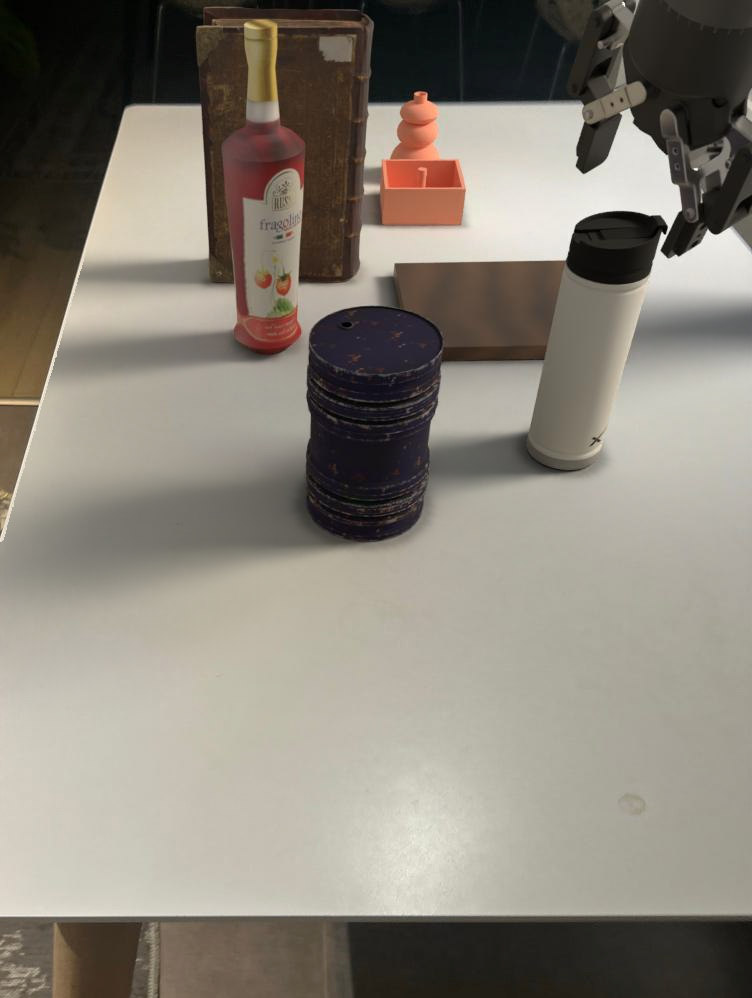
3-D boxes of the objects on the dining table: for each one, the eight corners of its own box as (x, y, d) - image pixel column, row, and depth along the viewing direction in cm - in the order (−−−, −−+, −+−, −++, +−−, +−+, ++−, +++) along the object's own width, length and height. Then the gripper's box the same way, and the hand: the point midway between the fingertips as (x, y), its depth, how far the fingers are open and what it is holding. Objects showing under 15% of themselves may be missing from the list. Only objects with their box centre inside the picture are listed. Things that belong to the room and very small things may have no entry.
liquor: (257, 369, 93) (246, 43, 73) (218, 338, 97) (198, 21, 77) (318, 347, 96) (324, 26, 75) (277, 317, 100) (273, 6, 80)
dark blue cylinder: (449, 503, 79) (474, 338, 68) (369, 560, 74) (383, 392, 63) (359, 453, 84) (369, 291, 73) (280, 503, 79) (278, 339, 68)
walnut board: (573, 272, 106) (576, 259, 105) (613, 358, 94) (617, 344, 93) (393, 275, 106) (394, 262, 105) (409, 361, 94) (411, 347, 93)
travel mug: (610, 470, 81) (680, 239, 67) (533, 472, 81) (585, 241, 67) (593, 428, 86) (655, 201, 71) (519, 429, 86) (566, 203, 71)
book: (362, 262, 108) (376, 6, 90) (357, 292, 104) (371, 28, 85) (218, 255, 110) (203, 2, 92) (206, 284, 105) (188, 24, 87)
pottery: (461, 224, 115) (472, 137, 108) (382, 224, 115) (388, 138, 108) (448, 166, 127) (457, 84, 120) (377, 166, 127) (382, 85, 120)
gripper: (891, 17, 46) (749, 250, 62) (692, -144, 50) (606, 112, 66) (772, 90, 45) (658, 308, 61) (579, -81, 49) (519, 164, 65)
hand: (631, 206), depth 63 cm, fingers open, 8 cm apart
